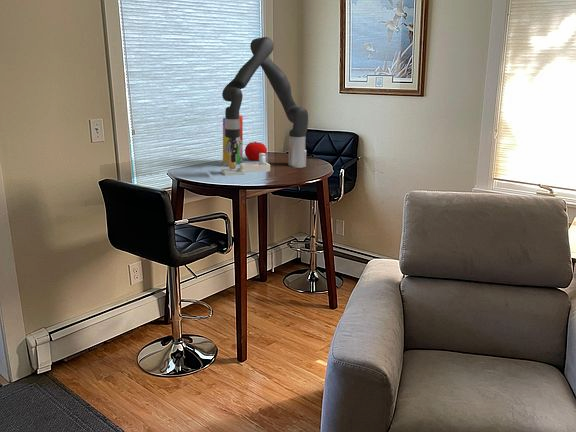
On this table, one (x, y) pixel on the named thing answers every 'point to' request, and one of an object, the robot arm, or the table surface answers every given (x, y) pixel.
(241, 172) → the parts tray
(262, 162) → the cylinder
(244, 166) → the fuse block
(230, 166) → the fuse
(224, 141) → the game box
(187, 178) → the table surface
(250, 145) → the tomato
